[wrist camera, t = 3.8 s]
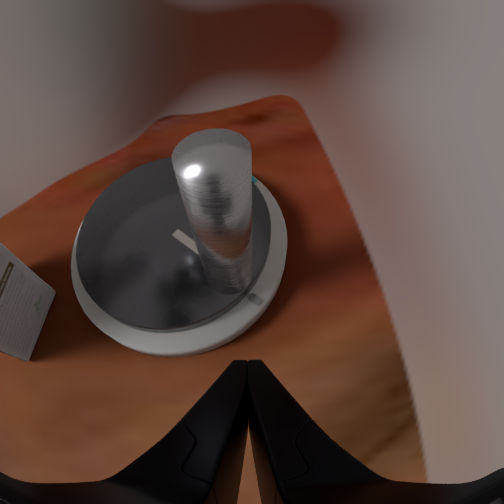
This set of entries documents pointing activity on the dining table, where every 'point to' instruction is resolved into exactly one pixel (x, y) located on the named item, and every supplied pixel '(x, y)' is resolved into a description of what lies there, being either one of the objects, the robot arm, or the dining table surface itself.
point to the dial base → (211, 332)
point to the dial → (177, 236)
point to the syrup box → (21, 306)
